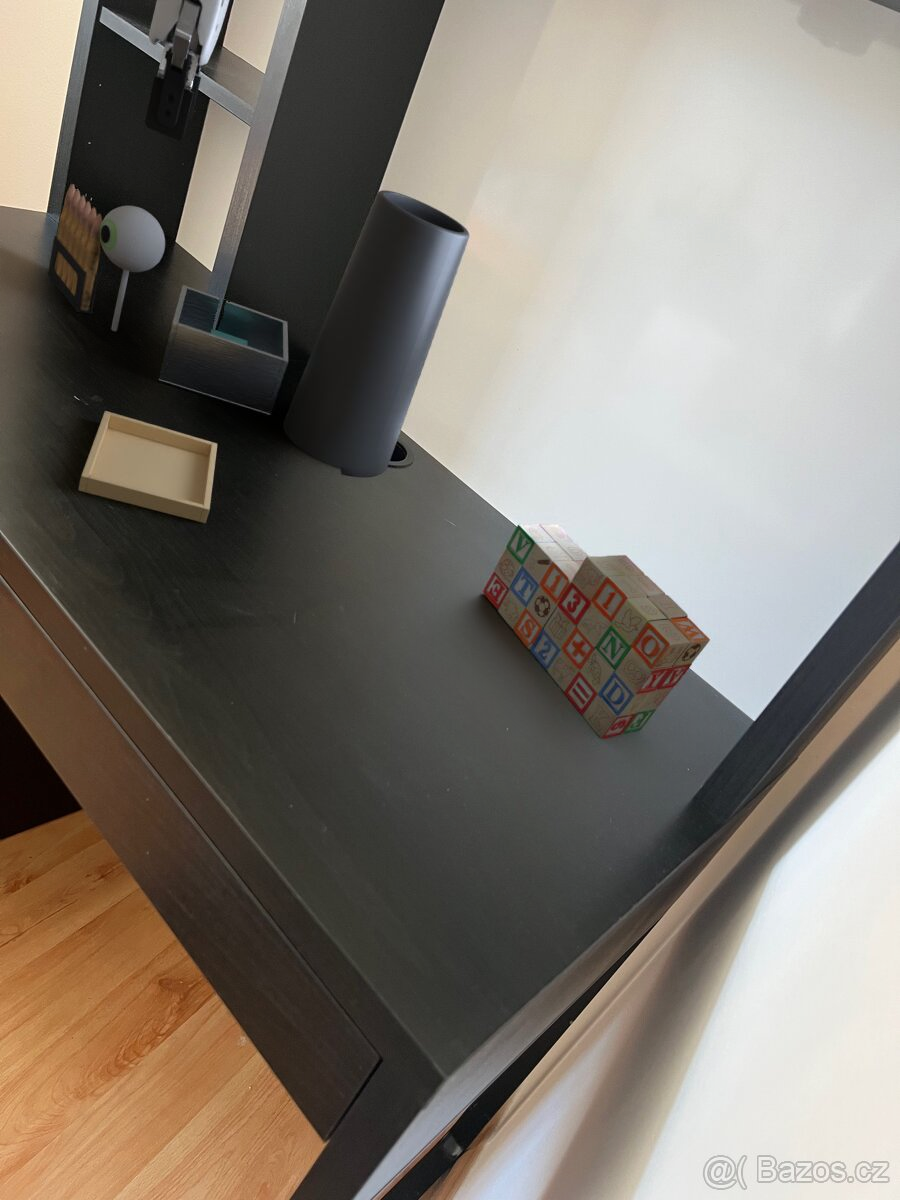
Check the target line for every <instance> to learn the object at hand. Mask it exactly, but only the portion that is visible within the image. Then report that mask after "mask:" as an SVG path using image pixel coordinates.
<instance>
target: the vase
mask: <svg viewBox="0 0 900 1200" xmlns="http://www.w3.org/2000/svg"><path fill="white" fill-rule="evenodd" d="M469 239H470V232H469V230H468V228H466V227H465V226H464V225H463V224H461V223H460V222H459V221H458V220H456V219H455V218H453V217H452V216H450V215H448V214H446V213H444V212H443V211H441V210H440V209H437V208H435V207H433V206H431V205H429V204H427V203H425V202H422V201H420V200H418V199H416V198H414V197H411V196H409V195H405V194H402V193H400V192H396V191H392V190H386V189H385V190H384V189H383V190H380V191H378V192H377V193H376V195H375V198H374V200H373V202H372V205H371V207H370V209H369V212H368V215H367V217H366V219H365V222H364V225H363V227H362V229H361V232H360V235H359V237H358V239H357V241H356V243H355V246H354V249H353V250H352V252H351V256H350V258H349V261H348V263H347V266H346V269H345V271H344V273H343V275H342V279H341V280H340V282H339V285H338V288H337V290H336V292H335V296H334V298H333V300H332V303H331V305H330V308H329V309H328V312H327V314H326V317H325V319H324V321H323V324H322V328H321V330H320V331H319V333H318V337H317V339H316V341H315V344H314V347H313V349H312V351H311V354H310V356H309V359H308V361H307V363H306V366H305V368H304V370H303V374H302V376H301V377H300V380H299V384H298V385H297V388H296V389H295V390H296V391H295V393H294V395H293V398H292V400H291V403H290V405H289V407H288V410H287V412H286V415H285V417H284V420H283V427H282V428H283V430H284V433H285V435H286V436H287V437H288V439H289V440H290V441H291V442H292V443H293V444H294V445H295V446H296V447H297V448H298V449H300V450H301V451H303V452H304V453H305V454H307V455H308V456H310V457H312V458H313V459H316V460H318V461H319V462H322V463H324V464H325V465H329V466H331V467H333V468H336V469H340V473H341V474H344V475H348V476H355V477H374V476H379V475H381V474H383V473H384V472H385V471H386V470H387V469H388V467H389V463H390V461H391V459H392V456H393V453H394V450H395V447H396V444H397V443H398V439H399V436H400V434H401V431H402V427H403V425H404V423H405V420H406V417H407V414H408V411H409V408H410V406H411V404H412V399H413V397H414V395H415V391H416V389H417V386H418V383H419V380H420V378H421V375H422V371H423V370H424V367H425V363H426V361H427V358H428V356H429V352H430V350H431V348H432V343H433V341H434V339H435V336H436V332H437V330H438V327H439V324H440V321H441V318H442V316H443V313H444V311H445V308H446V304H447V301H448V298H449V297H450V293H451V290H452V287H453V285H454V282H455V279H456V276H457V274H458V271H459V267H460V265H461V262H462V259H463V257H464V254H465V252H466V249H467V246H468V242H469Z"/></svg>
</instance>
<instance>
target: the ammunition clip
mask: <svg viewBox="0 0 900 1200" xmlns="http://www.w3.org/2000/svg"><path fill="white" fill-rule="evenodd" d="M63 203H64V204H63V206H62V211H61V214H60V217H59V222H58V227H57V234H56V235H54V237H53V242H52V248H51V254H50V260H49V265H48V271H47V274H48V276H49V277H50V279H51V280H52V282H54V284H55V285H56V287H57V288H58V289H59V291H60V292H61V293H62V294H63V296H64V297H65V298H66V299H67V301H68V302H69V303H70V305H71V306H72V308H73V309H74V310H75V311H76V312H77V313H84V314H90V315H92V314H93V310H94V306H95V305H94V304H95V299H96V294H97V293H96V292H97V287H98V281H99V276H100V274H99V273H98V266H99V261H100V256H101V241H100V228H101V224H102V222H103V218H102V213H97V209H96V207H92V206H91V202H90V201H89V200H87V201H86V197H85V195H84V194H82V195H81V192H80V190H79V189H76V187H75V184H74V183H71V185H69V187H68V190H67V191H66V195H65V198H64V202H63Z"/></svg>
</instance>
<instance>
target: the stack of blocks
mask: <svg viewBox="0 0 900 1200" xmlns="http://www.w3.org/2000/svg"><path fill="white" fill-rule="evenodd" d="M482 594H483V595H484V596H485V597H486V598H487V599H488V600H489V602H490V603H491V605H493V607H494V608H495V609H496V610H497V612H498V613H499V615H500V616H501V617H502V618H503V620H504V621H505V623H506V624H507V625H508V626H509V627H510V628H511V629H512V630H513V632H514V633H515V635H516V636H517V637H518V638H519V640H521V643H523V644H524V646H525V647H526V648H527V650H529V651H530V652H531V654H532V655H533V656H534V658H536V659H537V661H538V662H539V664H541V666H542V667H543V668H544V669H545V671H547V673H548V674H549V675H550V677H551V678H552V679H553V680H554V682H555V683H556V684H557V685H558V686H559V688H560V689H561V691H563V692H564V694H565V696H566V697H567V698H568V699H569V701H570V702H571V704H572V705H573V706H574V707H575V709H576V710H577V711H578V712H579V714H581V715H582V717H583V718H584V720H585V721H586V722H587V723H588V725H589V726H590V727H591V728H592V730H593V731H594V732H595V733H596V735H597V736H598V737H599V738H600V739H602V740H603V739H609V738H613V737H617V736H620V735H622V734H628V733H632V732H637V731H641V730H643V728H644V727H645V725H646V724H647V723H648V721H649V720H650V719H651V717H652V716H653V715H654V714H655V712H656V711H657V709H658V708H659V707H660V705H661V704H662V703H663V702H664V700H665V699H666V698H667V696H668V695H669V694H670V693H671V691H673V689H674V687H676V686H677V684H678V683H679V682H680V681H681V680H682V678H683V677H684V675H686V673H687V671H688V670H689V669H690V668H691V667H692V665H693V663H694V661H696V659H697V658H698V656H700V654H701V653H702V652H703V650H705V648H706V646H707V645H708V644H709V643H710V641H711V639H710V638H709V637H708V636H707V634H705V633H704V632H703V630H701V629H700V628H699V627H698V625H696V624H695V622H694V621H692V620H691V618H689V616H688V613H687V612H686V611H685V610H684V609H683V608H682V607H681V606H680V605H679V604H678V603H677V602H676V601H674V599H672V597H670V595H668V594H666V593H665V591H664V590H663V589H662V588H660V587H659V586H658V585H657V584H656V582H654V581H653V579H651V578H650V577H649V576H648V575H646V574H645V573H644V571H643V570H642V569H640V567H638V565H636V564H635V563H634V562H633V560H632V559H631V558H630V557H628V556H627V555H626V554H616V555H615V554H613V555H603V556H599V555H598V556H597V555H594V556H590V555H589V554H588V553H587V552H585V551H584V550H583V548H582V547H581V546H580V545H579V544H578V543H577V542H576V541H574V539H572V537H571V536H569V534H568V533H567V532H566V531H565V530H564V529H563V528H562V527H561V526H560V525H559V524H545V523H543V524H541V523H539V524H523V523H522V524H521V523H519V524H517V526H516V527H515V529H514V531H513V533H512V535H511V536H510V539H509V541H508V543H507V544H506V546H505V550H504V551H503V553H502V554H501V557H500V559H499V560H498V562H497V564H496V566H495V568H494V570H493V572H492V574H491V575H490V577H489V578H488V581H487V583H486V584H485V586H484V588H483V590H482Z"/></svg>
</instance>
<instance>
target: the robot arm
mask: <svg viewBox="0 0 900 1200" xmlns="http://www.w3.org/2000/svg"><path fill="white" fill-rule="evenodd" d="M229 3H230V0H156V1H155V7H154V10H153V11H154V12H153V16H152V19H151V24H150V28H149V33H148V39H149V41H150V42H151V44H152V45H154V46H156V45H158V44H159V43H160V42H164V41H165V42H164V47H163V51H162V54H161V55H162V56H161V58H160V62H159V67H158V70H157V75H156V74H155V75H154V77H153V83H152V88H151V92H150V97H149V101H148V104H147V105H148V106H147V111H146V115H145V120H144V124H145V126H146V127H147V128H148V129H150V130H152V131H155V132H157V133H159V134H161V135H163V136H166V137H169V138H170V139H172V140H176V141H178V142H179V141H180V142H181V141H182V140H183V139H184V137H185V133H186V128H187V124H188V122H190V121H191V120H192V118H193V113H194V109H195V107H196V106H195V105H196V101H197V97H198V93H199V88H200V84H201V80H202V77H201V76H200V73H201V69H202V66H204V65H207V64H208V63H209V60H210V58H211V56H212V54H213V51H214V49H215V46H216V44H217V41H218V39H219V36H220V33H221V30H222V27H223V23H224V21H225V17H226V15H227V14H226V13H227V10H228V7H229Z"/></svg>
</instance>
